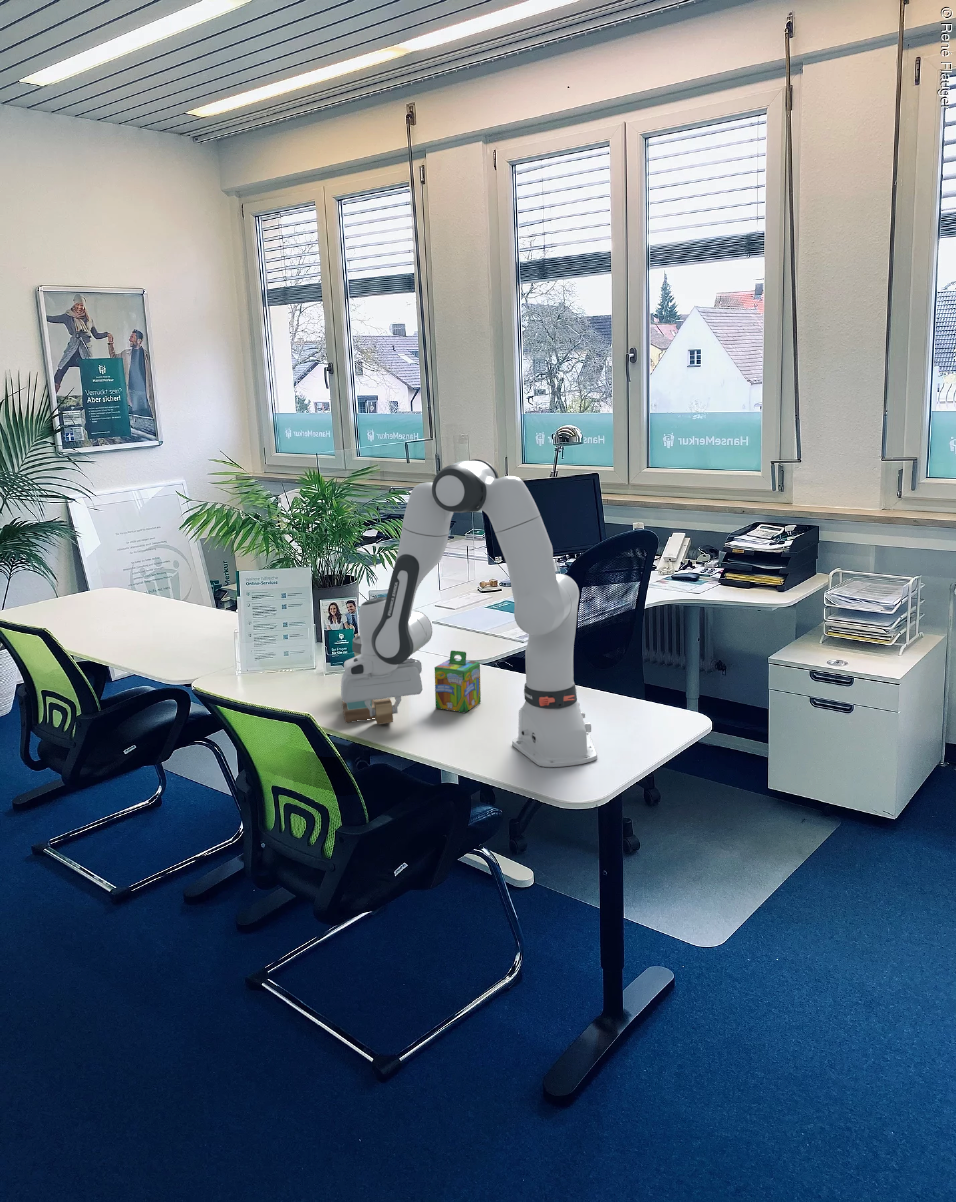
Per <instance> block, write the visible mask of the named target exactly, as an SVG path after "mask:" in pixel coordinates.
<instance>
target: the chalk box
mask: <svg viewBox="0 0 956 1202" xmlns="http://www.w3.org/2000/svg"><path fill="white" fill-rule="evenodd" d="M456 656H459V657H461V658H456ZM434 686H435V687H434V692H435V693H434V695H435V698H434V699H435V709H436V708H442V709H441V710H444V709H448V710H447V711H450V710H455V711H460V712H459V713H461V712H466V711H467V712H469V711H470V710H471V708H472V709H473V708H474V706H475V705H476V706H477V704H478V705H480V702H481V701H482V698H481V695H482V694H481V693H482V692H481V691H482V690H481V663H480V662H479V661H475V660H469V659H467V652H466V651H461V650H451V651H450V655H449V659H447V660H446V661H443V662H442V663H440V664H438V665H436V666H434ZM476 706H475V707H476ZM468 710H469V711H468ZM455 711H454V712H455ZM467 712H466V713H467Z"/></svg>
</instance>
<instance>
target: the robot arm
mask: <svg viewBox="0 0 956 1202" xmlns="http://www.w3.org/2000/svg"><path fill="white" fill-rule="evenodd" d="M479 511H482V512H484V513H485V514H486V515H487V517H488V519H489V521H490V523H491V525H492V528H493V531H494V533H495V537H496V539H497V542H498V545H499V547H500V550H501V553H502V555H503V558H504V561H505V564H506V568H507V571H508V576H509V581H510V586H511V593H512V596H513V597H512V598H513V602H514V608H513V609H514V610H513V617H514V620H515V623H516V625H517V626H518V627H519V628H520V630H522V632H524V633H526V634H528V639H527V644H526V647H525V652H524V653H525V655H524V656H525V683H524V689H523V693H524V694H523V695H524V700H525V701H524V703H523V705H522V706H521V708H520V709H519V710H518V727H517V728H518V732H517V733H518V735H517V737H516V738H514V739H512V742H511V744H512V747H513V748H515V749H517V750H518V751H519V752H520V753H521V754H523V755H524V756H525V757H527V758H528V759H529V760H531V761H532V762H533V763H535V764H536V765H537V766H539V767H544V768H545V767H546V768H553V767H554V768H556V767H557V768H558V767H560V768H562V767H569V766H570V767H571V766H577V765H583V764H586V763H590V762H593V761H595V760H597V759H598V753H597V751H596V749H595V748H596V747H595V745H594V742H593V740H592V737H591V735H590V734H591V732H592V724H591V722H585V721H584V719H585V718H586V713H585V712H584V711H583V712H582V711H581V707H580V703H579V702H578V697H577V695H578V694H577V693H578V692H577V688H576V683H575V681H574V649H575V648H574V647H575V646H574V645H575V638H576V629H577V621H578V608H579V606H578V605H579V600H580V589H579V587H578V584H577V583H576V581H575V580H574V579H573V578H572V577H571V576H569V575H567V574H563V573H556V569H555V561H554V549H553V545H552V542H551V540H550V537H549V534H548V532H547V528H546V526H545V524H544V520H543V518H542V515H541V513H540V511H539V508H538V506H537V503H536V502H535V499H534V498H533V496H532V494H531V492H530V491H529V488H528V487H527V486H526V484H525V482H524V481H523V480H522V478H520V477H518V476H514V475H506V476H502V477H501V476H500V477H499V473H498V472H497V469H496V468H495V467H494V466H493V465H492V464H491V463H489V462H488V461H486V460H483V459H469V460H461V461H457V462H455V463H452V464H449V465H447V466H444V467H443V468H442V469H441V470H439V472H437V473H436V475H435V477H434V479H433V481H431V482H430V481H427V482H420V483H419V484H416V485H415V486H414V487H413V488H412V489H411V492H410V495H409V497H408V500H407V503H406V507H405V511H404V516H403V519H402V526H401V531H400V532H401V533H400V537H399V538H400V539H399V543H398V544H399V546H398V549H397V554H396V558H395V563H394V566H393V570H392V574H391V576H390V582H389V586H388V590H387V595H386V596H378V597H374V598H371V599H370V598H369V599H368V600H366V601H364V602H363V603H361V604H360V605H359V610H358V631H359V632H358V633H359V634H358V636H359V635H360V638H361V641H362V646H361V654H360V655H358V656H356V657H355V656H354V657H352V658H349V659H346V660H345V661H344V663H343V669H344V672H343V673H342V675H341V680H340V681H341V683H340V696H341V700H342V701H344V702H345V703H350V702H358V701H364V702H365V705H366V706H367V708H368V709H369V711H370V717H372V716H376V709H375V708H372V707H371V706H370V705H369V704H371V701H370V700H379V699H388V698H390V699H391V698H394V699H395V701H394V704H392V713H393V715H396V714H398V713H399V711H398V707H399V706H400V704H401V701H402V697H406V696H415V695H420V694H421V693H422V691H423V683H422V679H421V678H422V677H421V675H420V674H421V673H422V671H423V670H422V667H423V665H422V662H421V661H420V659H418V658H415V657H410V656H412V655H413V654H414V653H416V652H417V651H419V650H421V648H423V647H425V646H426V644H428V643H429V641H431V638H432V636H433V627H432V622H431V621H430V619H429V617H428V616H427V615H426V614H424V613H423V612H422V611H419V610H413V608H414V607H413V606H414V602H415V598H416V594H417V590H418V588H419V586H420V585H421V583H422V581H423V580H424V579H425V578H426V576H427V575H428V574H429V573H430V572H431V571H432V570H433V569H434V568H435V567H436V566H437V565H438V564H439V563H440V562H441V560H442V559H443V556H444V554H445V551H446V547H447V544H448V540H449V534H450V529H451V527H450V526H451V521H452V518H453V515H454V513H456V514H457V513H459V514H460V513H461V514H463V513H476V512H479ZM409 657H410V658H409Z"/></svg>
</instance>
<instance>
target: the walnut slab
mask: <svg viewBox="0 0 956 1202" xmlns="http://www.w3.org/2000/svg"><path fill="white" fill-rule="evenodd" d="M341 702H342V703H341V705H342V713H343V717H344V721H345V723H346V722H347V723H353V722H352V721H356V722H358V721H357V720H365V721H368V720H367V719H372V718H375V716H372V717H370V711H369V709H368V708H358V709H349V710H348V706H347V703H345V702H344V701H343V700H342V701H341ZM372 708H375V707H374V700H372Z"/></svg>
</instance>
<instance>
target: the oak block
mask: <svg viewBox="0 0 956 1202" xmlns="http://www.w3.org/2000/svg"><path fill="white" fill-rule="evenodd" d="M392 705H393V704H392V700H391V698H383V699H375V700H374V707H375V709H376V716H375V719H374V720H375V722H376V724H377V725H381V724H389V723H394V714H393V713H392Z"/></svg>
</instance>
